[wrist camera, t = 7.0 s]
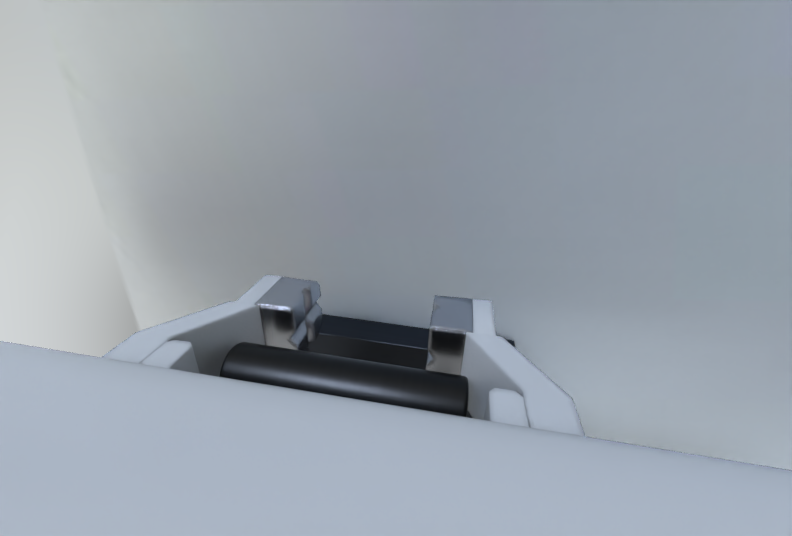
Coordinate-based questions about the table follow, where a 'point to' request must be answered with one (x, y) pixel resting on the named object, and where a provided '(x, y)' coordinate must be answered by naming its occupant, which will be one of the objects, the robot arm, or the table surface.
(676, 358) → the table surface
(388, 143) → the table surface
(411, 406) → the switch lever
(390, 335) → the switch bracket
